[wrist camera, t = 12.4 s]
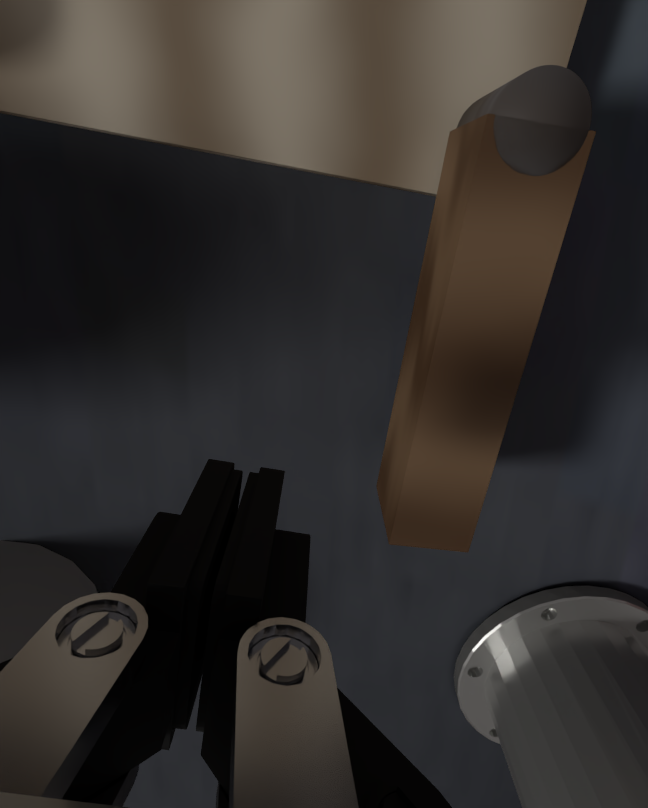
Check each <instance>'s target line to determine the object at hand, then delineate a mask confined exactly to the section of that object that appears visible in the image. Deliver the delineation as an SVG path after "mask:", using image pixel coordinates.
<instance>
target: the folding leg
mask: <svg viewBox="0 0 648 808" xmlns="http://www.w3.org/2000/svg"><path fill="white" fill-rule="evenodd" d="M591 117H592V106H591V99H590V95H589V92H588V90H587V88H586V86H585V84H584V82H583V81H582V80H581V78H580V77H579V76H578V75H577V74H575V73H574V72H573V71H571V70H570V69H567V68H565V67H562V66H558V65H543V66H538V67H535V68H533V69H530V70H529V71H527V72H525V73H523V74H521V75H520V76H518V77H516V78H515V79H513V80H511V81H509V82H508V83H506V84H504V85H503V86H501V87H499V88H497V89H496V90H494V91H492V92H491V93H489V94H487V95H485V96H484V97H482V98H480V99H479V100H477V101H476V102H474V103H473V104H472V105H471V106H470V107H469V108H468V109H467V110H466V111H465V112H464V114H463V115H462V117H461V119H460V121H459V123H458V126H457V128H456V129H454V130H452V131H450V133H449V138H448V142H447V147H446V152H445V157H444V162H443V167H442V171H441V176H440V181H439V186H438V191H437V196H436V201H435V205H434V210H433V215H432V220H431V225H430V230H429V234H428V239H427V244H426V249H425V254H424V259H423V264H422V268H421V273H420V278H419V283H418V288H417V293H416V297H415V302H414V307H413V312H412V317H411V322H410V327H409V331H408V336H407V341H406V346H405V351H404V356H403V360H402V365H401V370H400V375H399V380H398V385H397V389H396V394H395V399H394V404H393V409H392V414H391V419H390V423H389V428H388V433H387V438H386V443H385V448H384V452H383V457H382V462H381V467H380V472H379V477H378V482H377V491H378V496H379V500H380V505H381V509H382V514H383V518H384V523H385V528H386V532H387V537H388V541H389V544H391V545H401V546H411V547H421V548H431V549H440V550H450V551H460V552H468V551H469V548H470V545H471V541H472V538H473V535H474V531H475V528H476V525H477V522H478V518H479V515H480V512H481V508H482V505H483V502H484V498H485V495H486V492H487V489H488V485H489V482H490V479H491V475H492V472H493V469H494V466H495V462H496V459H497V456H498V452H499V449H500V446H501V443H502V439H503V436H504V433H505V429H506V426H507V423H508V420H509V416H510V413H511V410H512V406H513V403H514V400H515V397H516V393H517V390H518V387H519V383H520V380H521V377H522V374H523V370H524V367H525V364H526V360H527V357H528V354H529V351H530V347H531V344H532V341H533V337H534V334H535V331H536V328H537V324H538V321H539V318H540V314H541V311H542V308H543V305H544V301H545V298H546V295H547V291H548V288H549V285H550V282H551V278H552V275H553V272H554V268H555V265H556V262H557V258H558V255H559V252H560V249H561V245H562V242H563V239H564V235H565V232H566V229H567V226H568V222H569V219H570V216H571V212H572V209H573V206H574V203H575V199H576V196H577V193H578V189H579V186H580V183H581V180H582V176H583V173H584V170H585V166H586V163H587V160H588V157H589V153H590V150H591V147H592V143H593V140H594V137H595V134H596V131H590V130H589V128H590V124H591Z"/></svg>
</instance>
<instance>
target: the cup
mask: <svg viewBox="0 0 648 808" xmlns="http://www.w3.org/2000/svg"><path fill="white" fill-rule="evenodd" d="M95 593H97V590H96V587H95V585H94V584H93V583H92V582H91V581H90V579H89V578H88V577H87V576H86V575H85V574H84V573H83V572H82V571H81V570H80V569H79V568H78V567H77V566H76V565H75V563H74V562H73V561H71V560H69V559H67V558H65V557H63V556H61V555H59V554H57V553H55V552H52V551H50V550H48V549H46V548H44V547H42V546H40V545H36V544H28V543H20V542H11V541H3V540H1V541H0V663H2V662H4V661H6V660H9V659H11V658H14V657H15V655H16V654H17V653H18V652H19V651H20V650H21V649H22V648H23V647H24V646H25V645H26V644H27V643H28V641H29V640H30V639H31V638H32V637H33V636H34V635H35V634H36V633H37V632H38V631H39V630H40V628H41V627H42V626H43V625H44V624H45V623H46V622H47V621H48V620H49V619H50V618H51V617H52V616H53V614H55V613H56V612H57V611H58V610H59V609H61V608H62V607H63V606H64V605H66V604H68V603H70V602H72V601H74V600H76V599H78V598H80V597H84V596H87V595H91V594H95Z"/></svg>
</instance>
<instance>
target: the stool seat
mask: <svg viewBox="0 0 648 808" xmlns="http://www.w3.org/2000/svg"><path fill="white" fill-rule="evenodd" d="M586 2H587V0H0V113H3V114H8V115H13V116H19V117H24V118H29V119H34V120H39V121H45V122H50V123H55V124H60V125H65V126H71V127H76V128H81V129H86V130H92V131H97V132H102V133H107V134H112V135H118V136H123V137H128V138H133V139H139V140H144V141H149V142H154V143H159V144H165V145H170V146H175V147H180V148H185V149H191V150H196V151H201V152H206V153H212V154H217V155H222V156H227V157H232V158H238V159H243V160H248V161H253V162H259V163H264V164H269V165H274V166H279V167H285V168H290V169H295V170H300V171H305V172H311V173H316V174H321V175H326V176H332V177H337V178H342V179H347V180H352V181H358V182H363V183H368V184H373V185H379V186H384V187H389V188H394V189H399V190H405V191H410V192H415V193H420V194H426V195H431V196H437V191H438V186H439V181H440V176H441V171H442V167H443V162H444V157H445V152H446V147H447V142H448V138H449V133H450V131H452V130H454V129H456V128H457V126H458V123H459V121H460V119H461V117H462V115H463V114H464V112H465V111H466V110H467V109H468V108H469V107H470V106H471V105H472V104H473V103H474V102H476V101H477V100H479V99H480V98H482V97H484V96H485V95H487V94H489V93H491V92H492V91H494V90H496V89H497V88H499V87H501V86H503V85H504V84H506V83H508V82H509V81H511V80H513V79H515V78H516V77H518V76H520V75H521V74H523V73H525V72H527V71H529V70H530V69H533V68H535V67H538V66H543V65H558V66H562V67H565V68H567V65H568V61H569V58H570V55H571V51H572V48H573V45H574V41H575V38H576V35H577V32H578V28H579V25H580V22H581V18H582V15H583V12H584V8H585V5H586Z"/></svg>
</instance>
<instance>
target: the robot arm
mask: <svg viewBox="0 0 648 808" xmlns="http://www.w3.org/2000/svg"><path fill="white" fill-rule="evenodd" d="M284 473H285V471H282V470H275V469H269V468H263V467H261V468H260V471H259V473H253V472H250V473H249V476H248V479H247V483H246V486H245V489H244V492H243V496H242V499H241V502H240V505H239V497H240V489H241V482H242V471H240V470H234V463H231V462H225V461H219V460H212V459H209V460H208V462H207V464H206V466H205V468H204V470H203V472H202V474H201V476H200V478H199V480H198V482H197V484H196V486H195V488H194V490H193V492H192V494H191V496H190V498H189V500H188V502H187V504H186V506H185V508H184V510H183V512H182V514H181V515H178V514H171V513H165V512H159V513H157V515H156V516H155V517H154V519H153V521H152V522H151V524H150V526H149V528H148V529H147V531H146V533H145V534H144V536H143V538H142V540H141V541H140V543H139V545H138V546H137V548H136V550H135V552H134V553H133V555H132V557H131V559H130V560H129V562H128V564H127V565H126V567H125V569H124V571H123V572H122V574H121V576H120V577H119V579H118V581H117V583H116V584H115V586H114V588H113V589H112V591H111V593H110V592H108V593H95V594H91V595H87V596H84V597H80V598H78V599H76V600H74V601H72V602H70V603H68V604H66V605H64V606H63V607H62V608H61V609H59V610H58V611H57V612H56V613H55V614H53V616H52V617H51V618H50V619H49V620H48V621H47V622H46V623H45V624H44V625H43V626H42V627H41V628H40V630H39V631H38V632H37V633H36V634H35V635H34V636H33V637H32V638H31V639H30V640H29V641H28V643H27V644H26V645H25V646H24V647H23V648H22V649H21V650H20V651H19V652H18V653H17V654H16V655H15V657H14V658H11V659H9V660H6V661H4V662H2V663H0V808H128V807H123V805H124V803H125V801H126V799H127V797H128V795H129V793H130V791H131V789H132V786H133V784H134V782H135V779H136V776H137V773H138V770H139V764H140V763H142V762H143V761H145V760H146V759H148V758H149V757H151V756H152V755H154V754H155V753H157V752H158V751H160V750H161V749H165V750H169V748H170V745H171V742H172V738H173V735H174V732H175V728H178V729H187V727H188V724H189V720H190V717H191V713H192V709H193V706H194V702H195V699H196V695H197V691H198V688H199V684H200V681H201V677H202V683H201V691H200V700H199V708H198V717H197V725H196V731H201V732H204V734H203V742H202V749H201V756H202V757H203V759H204V760H205V762H206V763H207V765H208V766H209V768H210V769H211V771H212V772H213V774H214V775H215V777H216V778H217V780H218V787H217V793H216V808H452V807H451V806H450V804H449V803H448V802H447V801H446V799H445V798H444V797H443V796H442V794H441V793H440V792H439V791H438V789H437V788H436V787H435V786H434V785H433V784H432V783H431V782H430V781H429V780H428V779H427V778H426V777H425V776H424V775H423V774H422V773H421V772H420V771H419V770H418V769H417V768H416V767H415V766H414V765H413V764H412V763H411V762H410V761H409V760H408V759H407V758H406V757H405V756H404V755H403V754H402V753H401V752H400V751H399V750H398V749H397V748H396V747H395V746H394V745H393V744H392V743H391V742H390V741H389V740H388V739H387V738H386V737H385V736H384V735H383V734H382V733H381V732H380V731H379V730H378V729H377V728H376V727H375V726H374V725H373V724H372V723H371V722H370V721H369V719H368V718H367V717H366V716H365V715H364V714H363V713H362V712H361V711H360V710H359V709H358V708H357V707H356V706H355V705H354V704H353V703H352V702H351V701H350V700H349V699H348V698H347V697H346V696H345V695H344V694H343V693H342V692H341V691H340V690H339V689H338V688H337V685H336V680H335V674H334V668H333V663H332V657H331V653H330V650H329V647H328V645H327V642H326V641H325V639H324V638H323V637H322V636H321V634H320V633H319V632H318V631H317V630H315V629H314V628H312V627H311V626H310V625H308V624H306V623H305V620H306V603H307V586H308V569H309V552H310V535H309V534H302V533H296V532H289V531H283V530H276V529H275V528H276V522H277V516H278V509H279V503H280V497H281V491H282V485H283V479H284ZM238 505H239V508H238ZM202 673H203V674H202ZM454 684H455V691H456V694H457V697H458V701H459V704H460V708H461V710H462V712H463V714H464V715H465V717H466V719H467V721H468V722H469V723H470V724H471V725H472V726H473V727H474V728H475V729H476V730H477V731H478V732H479V733H481V734H482V735H483V736H485V737H486V738H488V739H490V740H492V741H494V742H497V743H499V744H501V746H502V749H503V752H504V755H505V758H506V761H507V764H508V767H509V770H510V773H511V776H512V779H513V782H514V784H515V787H516V790H517V793H518V796H519V799H520V802H521V805H522V808H648V607H647V606H646V605H645V604H644V603H643V602H641V601H639V600H637V599H636V598H634V597H632V596H630V595H628V594H626V593H623V592H619V591H616V590H613V589H610V588H603V587H595V586H565V587H560V588H554V589H548V590H543V591H540V592H537V593H534V594H531V595H528V596H525V597H522V598H520V599H518V600H516V601H514V602H512V603H510V604H508V605H506V606H504V607H503V608H501V609H500V610H498V611H497V612H495V613H494V614H493V615H491V616H490V617H488V618H487V619H486V620H485V621H484V622H483V623H482V624H481V625H480V626H479V627H478V628H476V629H475V630H474V631H473V633H472V634H471V635H470V637H469V638H468V640H467V641H466V642H465V644H464V645H463V647H462V649H461V651H460V654H459V656H458V658H457V660H456V666H455V671H454Z"/></svg>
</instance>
